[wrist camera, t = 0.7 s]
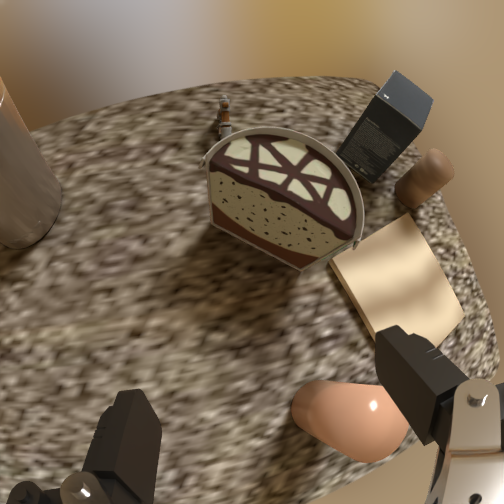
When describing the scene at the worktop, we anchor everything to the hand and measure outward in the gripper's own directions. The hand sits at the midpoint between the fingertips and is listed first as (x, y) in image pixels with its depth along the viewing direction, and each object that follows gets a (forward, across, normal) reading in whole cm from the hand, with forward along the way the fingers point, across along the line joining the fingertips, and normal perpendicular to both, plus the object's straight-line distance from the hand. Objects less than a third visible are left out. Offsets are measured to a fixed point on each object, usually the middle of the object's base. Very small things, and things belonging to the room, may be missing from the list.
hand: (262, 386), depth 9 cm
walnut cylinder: (+25, -22, 0) cm, 33 cm away
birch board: (+18, -16, +9) cm, 25 cm away
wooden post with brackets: (+26, -1, -9) cm, 28 cm away
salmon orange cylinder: (+11, -4, +14) cm, 19 cm away
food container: (+21, -4, -1) cm, 22 cm away
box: (+28, -18, -5) cm, 33 cm away
